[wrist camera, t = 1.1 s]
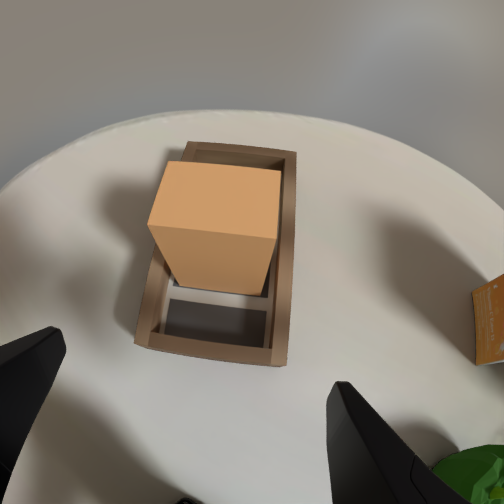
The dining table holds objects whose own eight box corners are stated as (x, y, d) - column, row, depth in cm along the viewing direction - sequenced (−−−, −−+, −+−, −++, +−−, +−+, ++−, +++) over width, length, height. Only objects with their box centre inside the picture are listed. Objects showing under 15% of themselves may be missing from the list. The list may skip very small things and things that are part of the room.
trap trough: (279, 367, 20) (286, 365, 17) (146, 348, 20) (133, 343, 17) (291, 172, 28) (296, 151, 25) (191, 162, 27) (187, 141, 25)
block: (260, 295, 21) (276, 238, 13) (179, 285, 21) (147, 224, 13) (264, 247, 23) (280, 171, 14) (189, 238, 23) (168, 160, 14)
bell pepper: (400, 525, 13) (463, 561, 4) (417, 452, 17) (498, 468, 8) (463, 500, 13) (527, 516, 4) (478, 433, 17) (551, 432, 8)
